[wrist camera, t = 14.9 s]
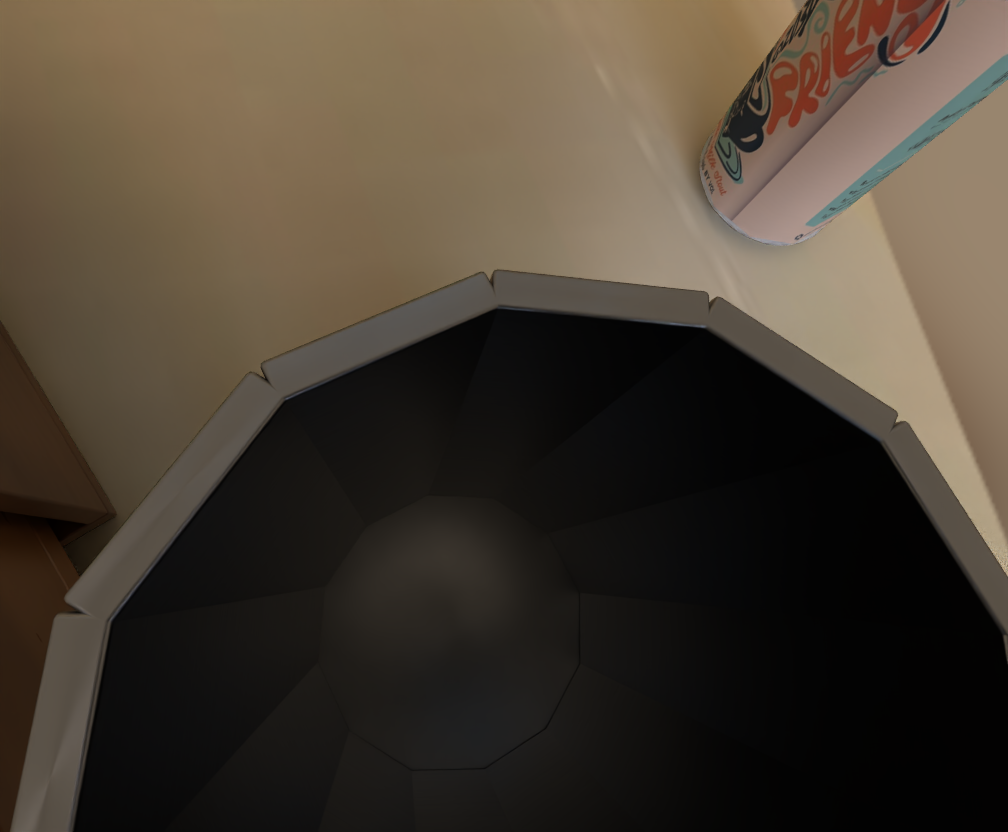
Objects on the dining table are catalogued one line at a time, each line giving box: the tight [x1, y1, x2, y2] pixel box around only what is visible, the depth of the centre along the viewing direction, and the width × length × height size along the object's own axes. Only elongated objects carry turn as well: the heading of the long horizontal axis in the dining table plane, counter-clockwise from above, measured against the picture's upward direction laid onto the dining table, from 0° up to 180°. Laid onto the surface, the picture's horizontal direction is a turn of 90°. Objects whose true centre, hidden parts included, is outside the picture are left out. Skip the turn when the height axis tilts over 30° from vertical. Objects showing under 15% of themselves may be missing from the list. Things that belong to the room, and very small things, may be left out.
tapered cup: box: [10, 270, 1008, 832], centre depth 9 cm, size 6×6×11 cm
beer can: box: [700, 0, 1008, 245], centre depth 15 cm, size 5×5×12 cm
